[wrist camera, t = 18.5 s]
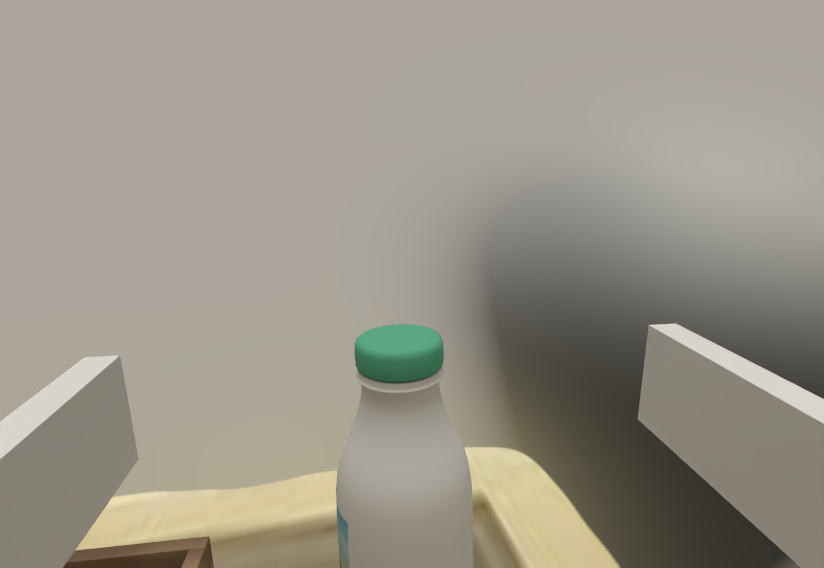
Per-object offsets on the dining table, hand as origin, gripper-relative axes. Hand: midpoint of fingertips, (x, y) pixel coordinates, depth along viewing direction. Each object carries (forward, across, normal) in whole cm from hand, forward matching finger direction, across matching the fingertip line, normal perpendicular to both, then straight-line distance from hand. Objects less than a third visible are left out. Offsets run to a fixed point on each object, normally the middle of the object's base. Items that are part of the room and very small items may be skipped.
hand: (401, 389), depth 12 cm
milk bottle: (+12, +1, -24) cm, 27 cm away
